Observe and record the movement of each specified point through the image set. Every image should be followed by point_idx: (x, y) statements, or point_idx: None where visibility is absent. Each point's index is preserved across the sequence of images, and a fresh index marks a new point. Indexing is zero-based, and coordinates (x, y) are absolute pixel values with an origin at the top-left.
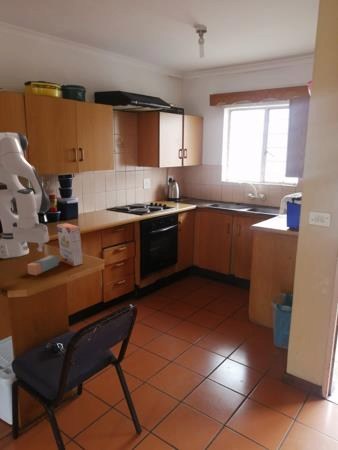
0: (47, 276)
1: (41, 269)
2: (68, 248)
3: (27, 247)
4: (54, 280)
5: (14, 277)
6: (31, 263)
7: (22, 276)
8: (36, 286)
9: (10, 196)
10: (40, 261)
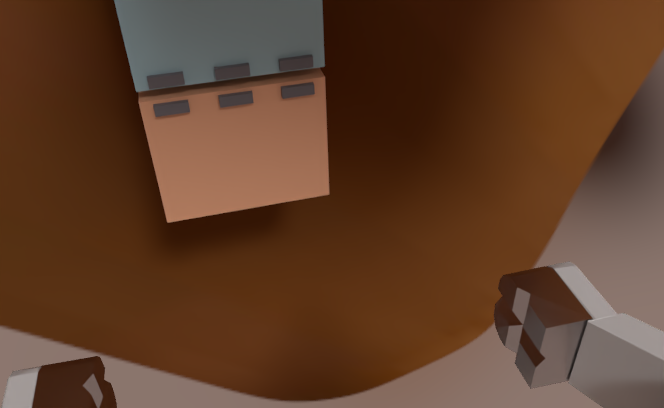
0: (461, 80)
1: None
2: None
3: (95, 401)
4: (604, 122)
5: (109, 273)
6: (182, 162)
7: None
8: None
9: None
10: (238, 15)
